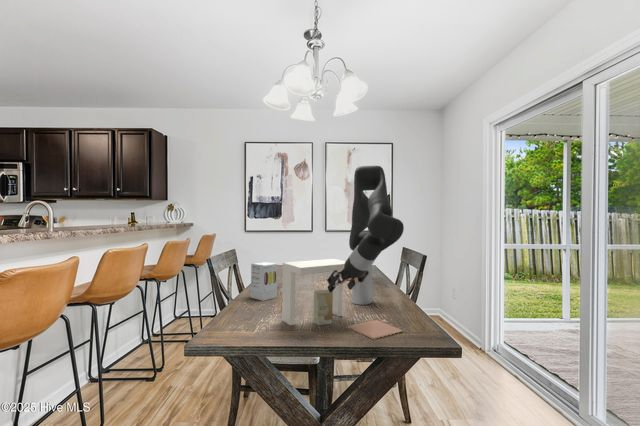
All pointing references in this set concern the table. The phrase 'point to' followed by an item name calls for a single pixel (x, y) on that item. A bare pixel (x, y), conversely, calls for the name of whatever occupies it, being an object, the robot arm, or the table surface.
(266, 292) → the supplement box
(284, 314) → the white stool
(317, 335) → the table surface
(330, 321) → the skincare box
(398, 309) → the table surface
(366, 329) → the terracotta tile
